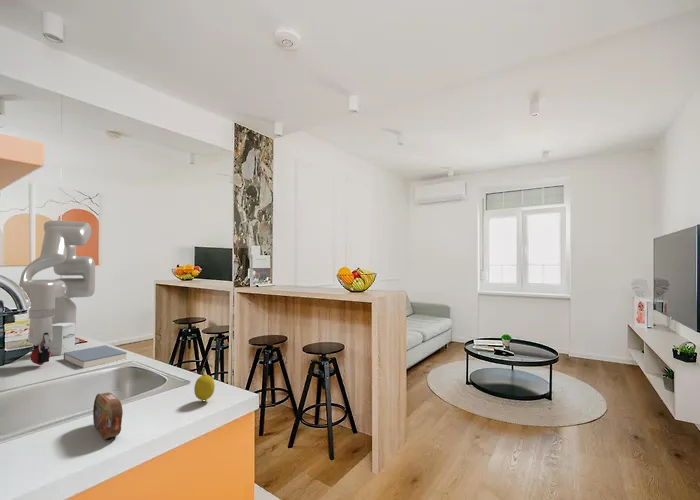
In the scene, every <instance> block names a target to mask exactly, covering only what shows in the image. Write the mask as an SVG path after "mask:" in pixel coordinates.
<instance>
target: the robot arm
mask: <svg viewBox="0 0 700 500" xmlns="http://www.w3.org/2000/svg"><path fill="white" fill-rule="evenodd" d="M43 231H44V235H43V241H42V245H41V251H40V256H39V257H38V258H35V259H34V260H33V261H31V262H30V263H29V264H28V265H27V266H26V267H25V268H24V269H23V270H22V273H21V275H20V278H19V279H20V280H19V283H18V287H19V286H20V287H22V288H23V290H24V291H25V292H26V293H27V295H28V297H29V299H30V302H31V308H30V309H29V308H28V320H29V325H28V326H29V328H28V337H27V341H28V342H27V343H28V344H31V345H32V346H31V347H32V350H31V352H32V351H33V350H34V349H36V348H37V347H39V353H38V363H43V364H45V363H48V362H49V361H50V358H49V346H50V343H51V342H52V324H57V323H77V306H76V303H75V302H74V301H73V300H72V299H71V298H88V297H92V296H93V295H94V294H95V290H96V264H95V260H94V258H93V257H92V256H88V255H86V256H85V255H77V246H79V247H81V246H84V245H86V244H87V242H88V241H89V240H90V238H91V235H92V227H91V224H90V223H88V222H86V221H74V220H72V221H70V220H48V221H45V223H44V224H43ZM52 267H53V272H54V273H55V274H56V275H57V276H64V277H60V278H55V279H33V277H34V276H35V275H37V274H38V273H39V272H41V271H44V270H46V269H49V268H52ZM65 276H66V277H65ZM67 276H81V277H67ZM29 299H28V300H29ZM76 328H77V327H76V325H75V331H76ZM79 342H80V339H79V338H76V337H75V344H78V343H79ZM42 346H43V347H42Z"/></svg>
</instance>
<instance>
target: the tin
mask: <svg viewBox="0 0 700 500" xmlns="http://www.w3.org/2000/svg"><path fill="white" fill-rule="evenodd" d="M93 401H94V403H93V411H92V412H93V413H92V416H93V418H92V419H93V421H92V422H93V426H94V429H95V430H96V431H97V432H98V433H99V435H100V436H101V437H102V439H104V440H107V439H110V438H114V437H117V436H119V435H120V433H121V431H122V420H123V415H124V414H123V405H122V402H121V401H120V400H119V398H117V397H116V396H115V395H114V394H113V393H112V392H110V391H108V392H102V393H97V394H96V396H95V399H94V400H93Z"/></svg>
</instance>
